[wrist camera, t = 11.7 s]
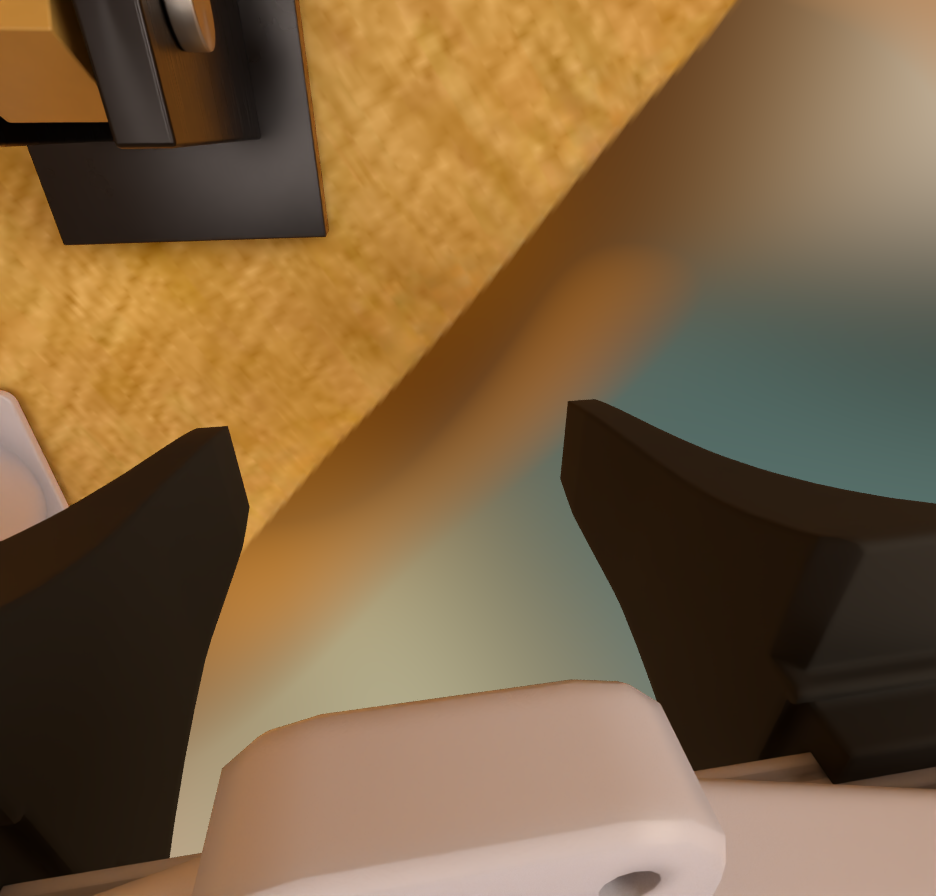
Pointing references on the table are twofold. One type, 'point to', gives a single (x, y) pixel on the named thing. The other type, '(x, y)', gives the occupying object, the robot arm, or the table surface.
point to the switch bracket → (186, 127)
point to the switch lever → (45, 65)
